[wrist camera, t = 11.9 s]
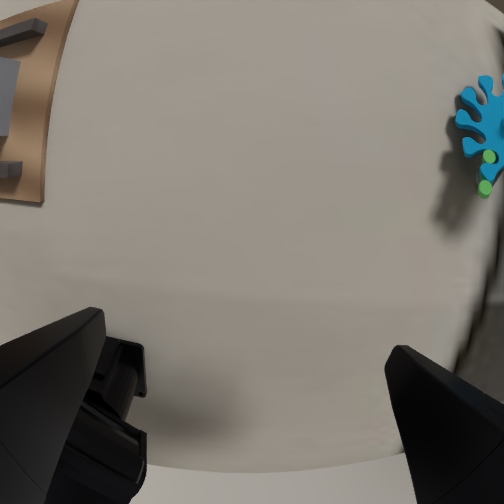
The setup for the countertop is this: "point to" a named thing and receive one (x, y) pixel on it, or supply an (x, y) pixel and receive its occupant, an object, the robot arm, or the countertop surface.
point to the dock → (31, 95)
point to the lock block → (7, 91)
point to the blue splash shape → (484, 133)
